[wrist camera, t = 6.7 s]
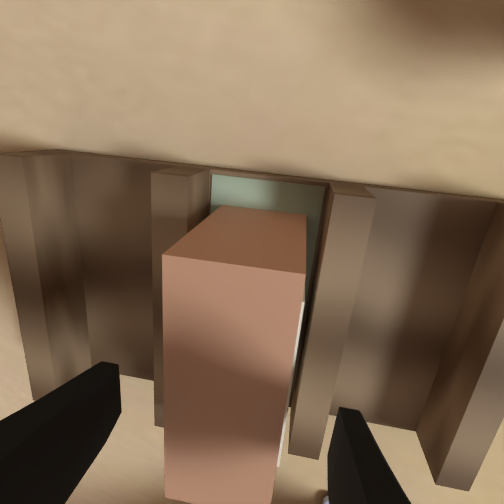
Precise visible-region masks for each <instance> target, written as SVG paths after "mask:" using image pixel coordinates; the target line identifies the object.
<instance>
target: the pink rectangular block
mask: <svg viewBox="0 0 504 504" xmlns="http://www.w3.org/2000/svg"><path fill="white" fill-rule="evenodd" d="M305 278H306V215H304V214H296V213H287V212H279V211H270V210H262V209H253V208H244V207H236V206H227V205H221V206H220V207H219V208H218V209H217V210H215V211H214V212H213V213H212V214H211V215H209V216H208V217H207V218H206V219H204V220H203V221H202V222H201V223H200V224H198V225H197V226H196V227H195V228H194V229H192V230H191V231H190V232H189V233H187V234H186V235H185V236H184V237H183V238H181V239H180V240H179V241H178V242H177V243H175V244H174V245H173V246H172V247H170V248H169V249H168V250H167V251H166V252H164V253H163V254H162V296H163V375H164V455H165V498H170V499H174V500H178V501H183V502H187V503H192V504H271V500H272V493H273V487H274V480H275V474H276V467H279V463H280V457H281V450H282V444H283V438H284V431H285V425H286V418H287V412H288V406H289V399H290V393H291V387H292V380H293V374H294V367H295V361H296V355H297V348H298V342H299V335H300V329H301V323H302V316H303V310H304V304H305Z"/></svg>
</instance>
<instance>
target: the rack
mask: <svg viewBox="0 0 504 504" xmlns="http://www.w3.org/2000/svg"><path fill="white" fill-rule="evenodd" d="M221 205H227V206H236V207H244V208H253V209H262V210H270V211H279V212H287V213H296V214H304V215H306V278H305V304H304V310H303V316H302V323H301V329H300V335H299V342H298V348H297V355H296V361H295V367H294V374H293V380H292V387H291V393H290V399H289V406H288V407H291V413H290V430H289V447H288V454H292V455H297V456H302V457H307V458H312V459H316V460H319V455H320V451H321V446H322V442H323V438H324V433H325V429H326V424H327V420H328V415H334V416H337V413H338V409H339V407H345V408H350V409H355V410H360V412H361V413H362V415H363V417H364V419H365V421H366V422H370V423H375V424H380V425H385V426H391V427H396V428H401V429H406V430H411V431H416V433H417V436H418V439H419V441H420V444H421V447H422V449H423V452H424V455H425V458H426V460H427V463H428V466H429V469H430V471H431V474H432V477H433V479H434V482H435V484H436V485H440V486H445V487H450V488H455V489H459V490H464V491H469V490H470V488H471V486H472V484H473V482H474V480H475V477H476V475H477V473H478V471H479V469H480V467H481V465H482V462H483V460H484V458H485V456H486V454H487V452H488V450H489V448H490V445H491V443H492V441H493V439H494V437H495V435H496V433H497V430H498V428H499V426H500V424H501V422H502V420H503V418H504V200H502V199H493V198H484V197H475V196H466V195H458V194H449V193H440V192H431V191H422V190H413V189H404V188H395V187H386V186H377V185H369V184H360V183H351V182H342V181H333V180H324V179H315V178H306V177H297V176H288V175H279V174H271V173H262V172H253V171H244V170H235V169H226V168H217V167H208V166H199V165H190V164H182V163H173V162H164V161H155V160H146V159H137V158H128V157H119V156H110V155H101V154H92V153H84V152H75V151H66V150H42V151H25V152H8V153H0V218H1V224H2V229H3V235H4V241H5V246H6V252H7V257H8V263H9V268H10V274H11V280H12V285H13V291H14V296H15V302H16V308H17V313H18V319H19V324H20V330H21V335H22V341H23V347H24V352H25V358H26V363H27V369H28V374H29V380H30V386H31V391H32V397H33V400H35V401H36V400H38V399H40V398H41V397H43V396H45V395H46V394H48V393H50V392H51V391H53V390H55V389H56V388H58V387H60V386H61V385H63V384H65V383H66V382H68V381H70V380H71V379H73V378H74V377H76V376H78V375H79V374H81V373H82V372H84V371H86V370H87V369H89V368H91V367H92V366H94V365H96V364H98V363H99V362H101V361H104V362H109V363H115V364H119V374H121V375H127V376H132V377H137V378H142V379H147V380H152V381H154V415H155V426H159V427H164V375H163V296H162V254H163V253H164V252H166V251H167V250H168V249H169V248H170V247H172V246H173V245H174V244H175V243H177V242H178V241H179V240H180V239H181V238H183V237H184V236H185V235H186V234H187V233H189V232H190V231H191V230H192V229H194V228H195V227H196V226H197V225H198V224H200V223H201V222H202V221H203V220H204V219H206V218H207V217H208V216H209V215H211V214H212V213H213V212H214V211H215V210H217V209H218V208H219V207H220V206H221Z"/></svg>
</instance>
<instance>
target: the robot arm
mask: <svg viewBox="0 0 504 504" xmlns="http://www.w3.org/2000/svg"><path fill="white" fill-rule="evenodd" d="M121 412H122V411H121V394H120V377H119V364H115V363H109V362H104V361H101V362H99V363H98V364H96V365H94V366H92V367H91V368H89V369H87V370H86V371H84V372H82V373H81V374H79V375H78V376H76V377H74V378H73V379H71V380H70V381H68V382H66V383H65V384H63V385H61V386H60V387H58V388H56V389H55V390H53V391H51V392H50V393H48V394H46V395H45V396H43V397H41V398H40V399H38V400H36V401H35V402H33V403H31V404H29V405H28V406H26V407H24V408H22V409H20V410H19V411H17V412H15V413H13V414H11V415H10V416H8V417H6V418H4V419H3V420H1V421H0V504H65V503H66V501H67V500H68V498H69V497H70V495H71V494H72V492H73V491H74V489H75V488H76V486H77V485H78V483H79V482H80V480H81V479H82V477H83V476H84V474H85V473H86V471H87V470H88V469H89V467H90V466H91V464H92V463H93V461H94V460H95V458H96V457H97V455H98V454H99V452H100V450H101V449H102V447H103V446H104V444H105V443H106V441H107V439H108V437H109V435H110V433H111V432H112V430H113V428H114V426H115V424H116V422H117V420H118V418H119V416H120V414H121ZM323 504H411V502H410V501H409V499H408V498H407V496H406V494H405V493H404V491H403V489H402V488H401V486H400V484H399V482H398V481H397V479H396V477H395V475H394V474H393V472H392V470H391V469H390V467H389V465H388V463H387V461H386V460H385V458H384V456H383V454H382V452H381V450H380V449H379V447H378V445H377V443H376V441H375V439H374V437H373V435H372V433H371V431H370V429H369V427H368V425H367V423H366V421H365V419H364V417H363V415H362V413H361V412H360V410H355V409H350V408H345V407H339V409H338V413H337V417H336V421H335V426H334V430H333V434H332V438H331V443H330V447H329V451H328V496H326V497H325V498H324V500H323Z"/></svg>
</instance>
